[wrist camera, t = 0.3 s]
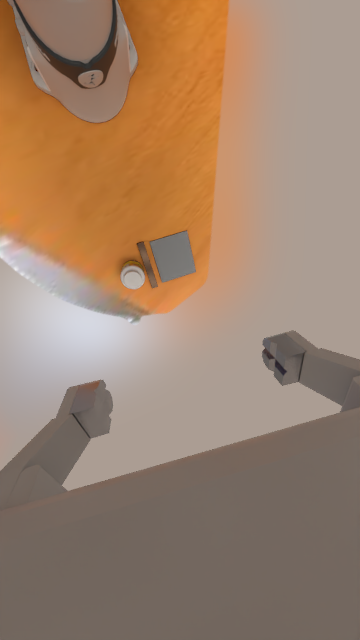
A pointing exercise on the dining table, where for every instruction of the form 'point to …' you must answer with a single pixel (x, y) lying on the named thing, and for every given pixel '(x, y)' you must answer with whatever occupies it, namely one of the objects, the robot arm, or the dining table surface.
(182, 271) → the felt tile
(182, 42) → the dining table surface
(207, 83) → the dining table surface
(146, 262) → the strip
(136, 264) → the supplement bottle
